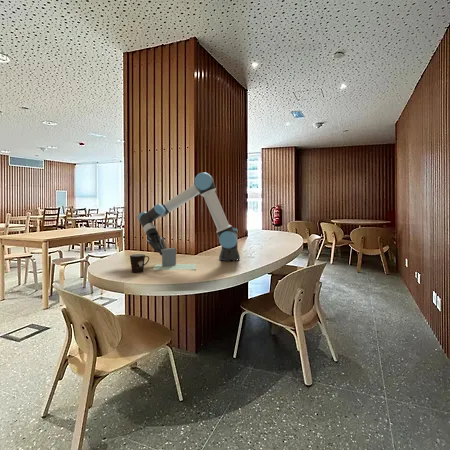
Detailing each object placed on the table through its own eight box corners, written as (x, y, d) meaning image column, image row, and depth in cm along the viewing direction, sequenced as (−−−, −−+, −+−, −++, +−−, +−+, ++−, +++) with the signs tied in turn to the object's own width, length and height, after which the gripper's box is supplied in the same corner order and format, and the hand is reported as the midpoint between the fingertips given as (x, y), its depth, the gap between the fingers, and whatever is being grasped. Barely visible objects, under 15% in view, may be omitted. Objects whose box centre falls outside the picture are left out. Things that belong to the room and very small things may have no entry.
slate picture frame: (161, 266, 198) (161, 249, 197) (173, 264, 204) (173, 247, 204) (164, 266, 196) (164, 249, 195) (175, 264, 202) (175, 248, 202)
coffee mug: (130, 273, 178) (130, 256, 178) (129, 271, 186) (129, 254, 186) (151, 272, 183) (151, 255, 182) (149, 269, 191) (149, 253, 190)
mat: (195, 264, 207) (195, 263, 207) (196, 270, 189) (196, 269, 189) (155, 265, 204) (155, 264, 204) (152, 271, 186) (152, 270, 186)
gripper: (156, 234, 219) (171, 260, 208) (140, 235, 209) (154, 263, 199) (161, 227, 215) (176, 253, 204) (144, 227, 205) (159, 256, 195)
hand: (165, 258), depth 201 cm, fingers closed
